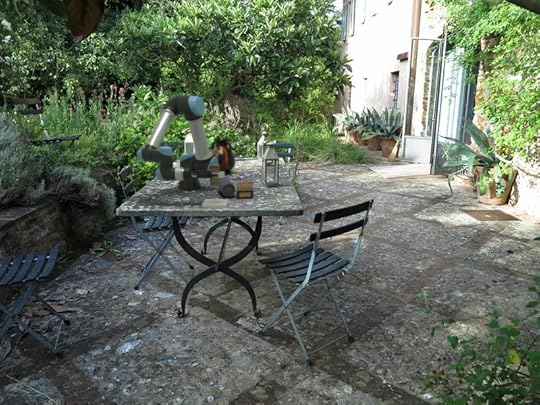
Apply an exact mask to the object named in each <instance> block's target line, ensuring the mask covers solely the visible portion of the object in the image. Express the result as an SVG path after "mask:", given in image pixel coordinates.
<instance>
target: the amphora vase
mask: <svg viewBox="0 0 540 405" xmlns="http://www.w3.org/2000/svg"><path fill="white" fill-rule="evenodd" d="M212 140H213V142H212V144H211V150H210V151H211V152H212V153H213V157H216V158H217V159H218V165H219V170H220V171H225V176H229V175H232V174H233V171H232V170H233V169H234V168H235V166H236V157H235V154H234V152H233V150H232V145H231V142H229V141H230V138H228V137H215V138H213V139H212Z"/></svg>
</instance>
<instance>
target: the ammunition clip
mask: <svg viewBox="0 0 540 405" xmlns="http://www.w3.org/2000/svg"><path fill="white" fill-rule="evenodd" d="M235 195H236V196H235V198H236V200H248V199H249V200H254V199H255V198H254V197H255V196H254V181H253V179H251V180H250V179H248V181H247V179H237V180H236V186H235Z"/></svg>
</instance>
